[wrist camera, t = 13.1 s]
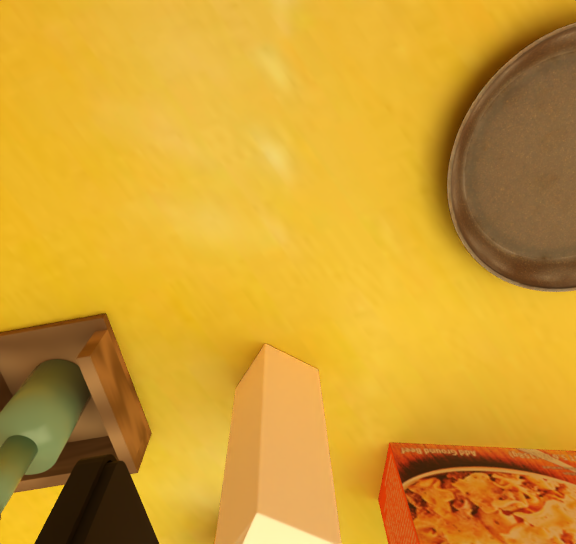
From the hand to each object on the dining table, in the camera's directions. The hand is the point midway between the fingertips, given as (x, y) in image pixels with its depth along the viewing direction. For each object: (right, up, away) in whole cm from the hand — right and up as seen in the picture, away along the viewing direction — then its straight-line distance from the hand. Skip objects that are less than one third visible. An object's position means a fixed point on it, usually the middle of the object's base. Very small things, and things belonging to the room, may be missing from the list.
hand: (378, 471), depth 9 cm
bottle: (-23, -7, +37) cm, 44 cm away
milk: (-3, -7, +38) cm, 39 cm away
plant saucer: (+21, +13, +31) cm, 39 cm away
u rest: (-23, -7, +38) cm, 45 cm away
